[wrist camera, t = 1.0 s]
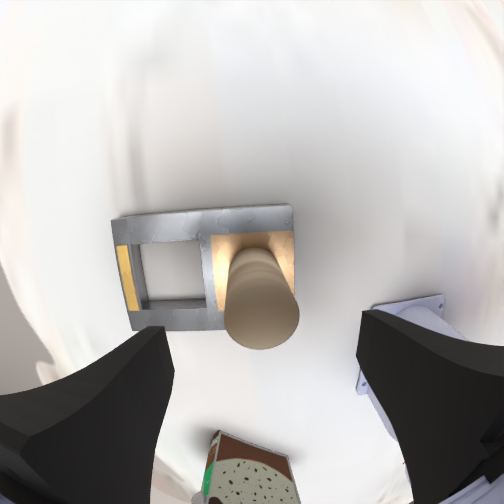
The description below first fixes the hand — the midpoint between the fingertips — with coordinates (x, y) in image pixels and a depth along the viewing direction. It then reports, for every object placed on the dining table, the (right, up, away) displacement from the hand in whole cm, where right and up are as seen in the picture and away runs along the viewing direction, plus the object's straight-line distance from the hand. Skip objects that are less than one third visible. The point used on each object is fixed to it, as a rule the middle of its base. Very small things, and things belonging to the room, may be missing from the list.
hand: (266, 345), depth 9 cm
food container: (-2, -19, +15) cm, 25 cm away
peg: (0, +2, +8) cm, 8 cm away
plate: (-3, +2, +9) cm, 10 cm away
